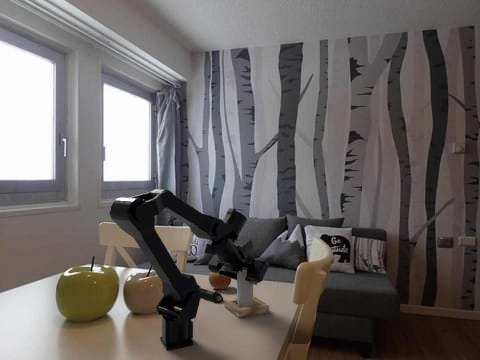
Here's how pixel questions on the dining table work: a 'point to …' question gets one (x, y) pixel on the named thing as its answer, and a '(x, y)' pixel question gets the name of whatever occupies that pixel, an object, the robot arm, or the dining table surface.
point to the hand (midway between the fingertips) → (248, 281)
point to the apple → (219, 280)
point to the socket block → (240, 312)
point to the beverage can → (244, 290)
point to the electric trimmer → (211, 295)
